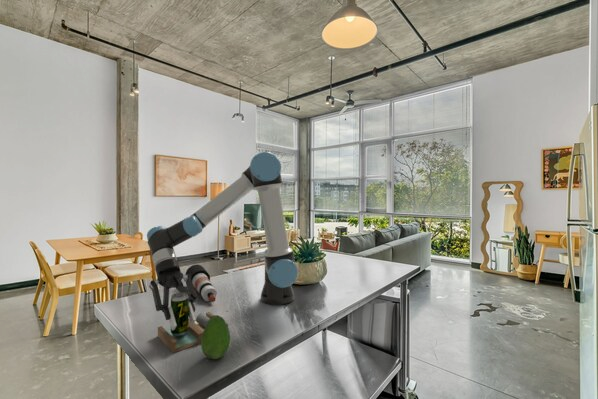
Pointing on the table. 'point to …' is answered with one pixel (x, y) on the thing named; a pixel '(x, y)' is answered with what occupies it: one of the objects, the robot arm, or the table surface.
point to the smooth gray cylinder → (202, 320)
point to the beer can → (180, 313)
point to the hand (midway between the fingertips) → (184, 324)
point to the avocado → (215, 338)
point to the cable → (202, 282)
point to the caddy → (183, 336)
